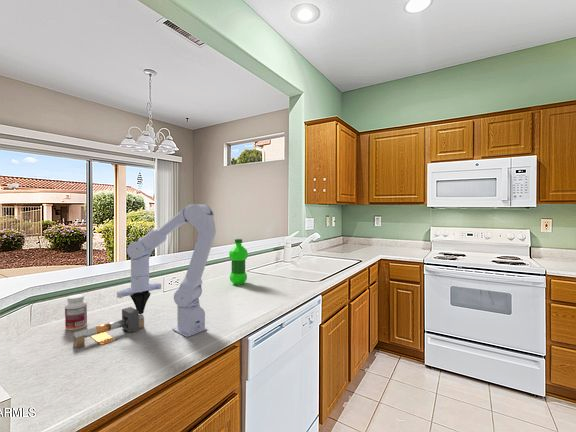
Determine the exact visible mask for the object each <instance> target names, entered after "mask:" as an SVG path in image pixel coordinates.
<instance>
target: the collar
mask: <svg viewBox="0 0 576 432" xmlns="http://www.w3.org/2000/svg"><path fill="white" fill-rule="evenodd" d="M139 315H140V314H139V311H138V310H136V308H134V307H133V306H130V307H126V308H122V309H121V320H122V319H126V318H128V325H127V326H124V327H121V328H122V329H123V330H125V331H126V332H128V333H133V332H136V331H140V329H139Z"/></svg>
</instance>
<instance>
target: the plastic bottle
mask: <svg viewBox="0 0 576 432" xmlns="http://www.w3.org/2000/svg"><path fill="white" fill-rule="evenodd" d="M234 243H235V245H234V246H233V247H232V248H230V250H229V253H228V254H229V256H228V257H229V259H230V261H231V272H230V275H229V280H230V282H231V283H232V284H233V285H236V286H241V285H244V283H246V281H247V280H248V275H247V272H246V260H247V259H248V255H249V254H248V253H249V252H248V249H247V248H246V247H244V246H243V245H242V243H243V238H234Z"/></svg>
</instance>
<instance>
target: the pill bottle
mask: <svg viewBox="0 0 576 432" xmlns="http://www.w3.org/2000/svg"><path fill="white" fill-rule="evenodd" d="M84 299H85V295H84V294H74V295H70V296H67V303H66V304H65V305H64V317H65V318H64V319H65V320H64V321H65V322H64V323H65V324H64V326H65V330H66V331H76V330H80V329H83V328H85V327H86V326H87V325H88V315H87V314H88V310H87V308H88V307H87V306H88V305H87V301H85V300H84Z"/></svg>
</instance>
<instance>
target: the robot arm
mask: <svg viewBox="0 0 576 432" xmlns="http://www.w3.org/2000/svg"><path fill="white" fill-rule="evenodd" d="M214 219H215V213H214V211H213V210H212V208H211V207H210V206H209V205H208V204H206V203H200V204H196V203H190V204H188V205H186V207H184V208H182V209H180V211H178V212H177V213H176V214H175V215H174V216H173V217H171V218H170V220H168V221H167V222H166V223H165V224H163V225H162V226H161V227H160V228H159V227H154V228H153V227H152V228H149V229H148V233H146V234H145V235H144V236H141V237H139V238H138V240H137V241H132V242H130V244H129V245H127V248H126V253H127V255H128V257H129V258H130V287H129V288H125V289H121V290H118V291H116V298H118V299H122V298H123V297H124V298H125V297H128V296H129V297H130V298H131V300H132V302H133V304H134V306H135V309H136V310H138V311H139V315H140V314H144V312H145V309H146V305H147V303H148V300H149V298H150V297H151V291H154V290H155V291H156V290H162V283H160V282H155V283H150V256H151V255H152V254H153V250H155V249H157V247H160V245H162V244H163V243H164V242H166V240H167V236H168V235H169V234H170V233H172V232H174V231H175V230H176V229H178V228H180V227H181V226H182V225H184V224H186V223H189V224H191V225H192V226H193V227H194V228H195V229H196V231H197V233H198V236H197V240H196V242H195V246H194V249H193V252H192V255H191V258H190V261H189V264H188V267H187V271H186V273H185V274H186V275H185V277H184V278H183V279H182V280H181V282H180V284H179V287H178V289H177V290H176V291H175V292H174V294H173V301H174V303H175V304H176V305H177V309H176V310H177V312H176V313H177V326H175V327H172V331H174V332H175V333H176V332H177V334H180V335H182V336H184V337H186V338H188V337H191V336H194V335H196V334H199V333H202V332H204V331H206V330H208V328H207V327H206V313H205V310H204V308H203V307H201V305H200V299H199V298H200V297H201V296H202V293H203V289H202V285H203V280H202V277H203V273H204V270H205V267H206V265H207V261H208V259H209V255H210V252H211V249H212V246H213V243H214V241H215V240H214V239H215V237H216V234H217V228H216V223H215V220H214Z"/></svg>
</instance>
